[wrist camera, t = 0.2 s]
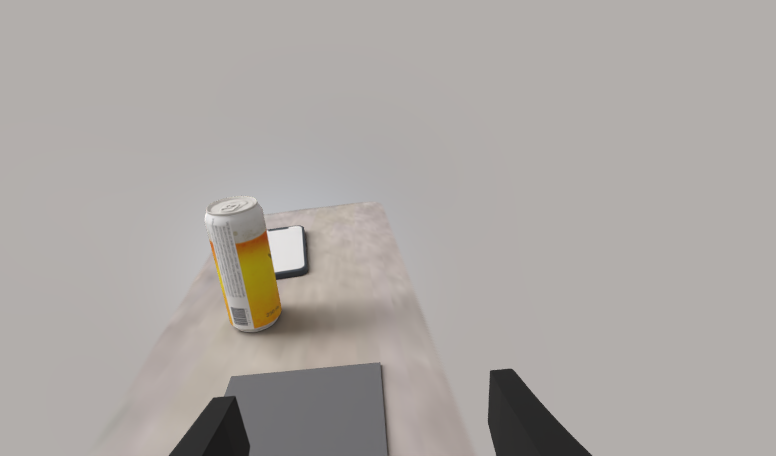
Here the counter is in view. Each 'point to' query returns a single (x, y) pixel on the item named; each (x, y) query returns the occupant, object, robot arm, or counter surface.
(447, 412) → the counter surface
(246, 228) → the beer can
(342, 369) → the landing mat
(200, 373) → the counter surface
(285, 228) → the phone case
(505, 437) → the robot arm
